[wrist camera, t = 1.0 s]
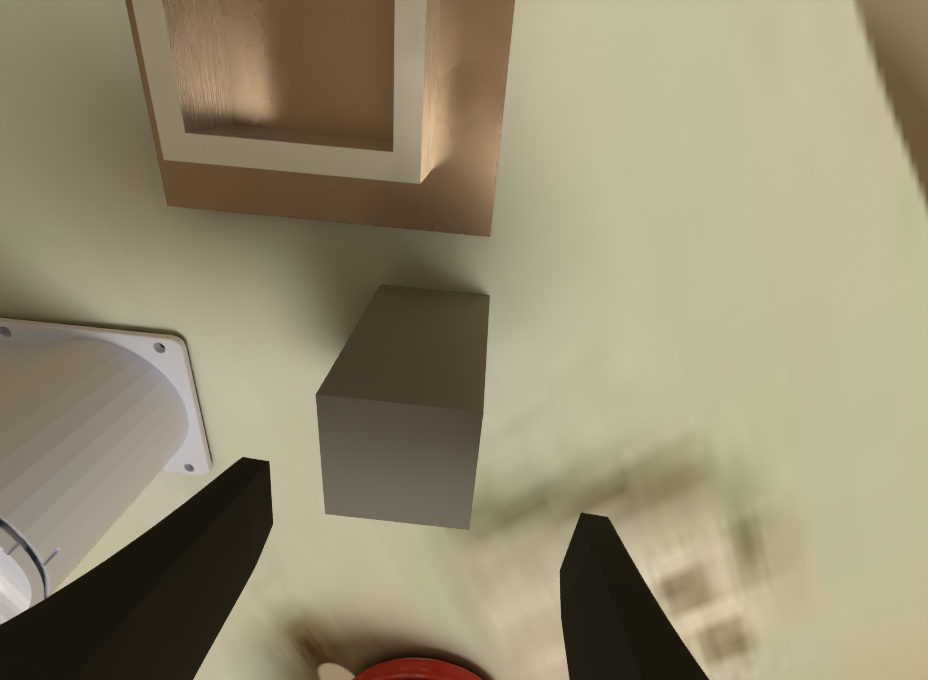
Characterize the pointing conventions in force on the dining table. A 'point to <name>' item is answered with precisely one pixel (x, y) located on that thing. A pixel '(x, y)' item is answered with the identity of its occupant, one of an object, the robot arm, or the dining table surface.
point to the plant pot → (416, 670)
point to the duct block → (406, 409)
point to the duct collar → (328, 107)
